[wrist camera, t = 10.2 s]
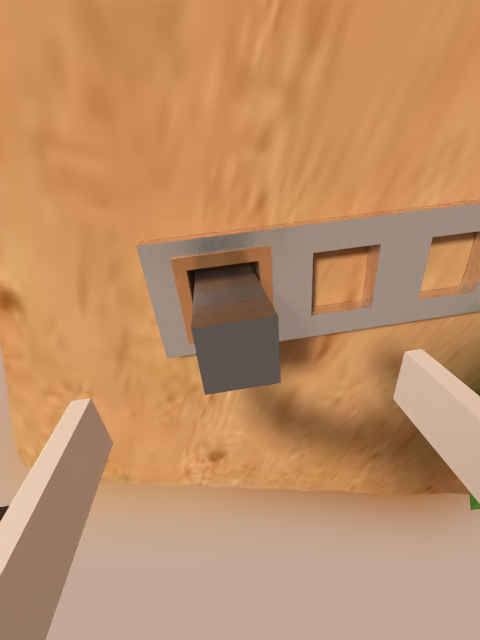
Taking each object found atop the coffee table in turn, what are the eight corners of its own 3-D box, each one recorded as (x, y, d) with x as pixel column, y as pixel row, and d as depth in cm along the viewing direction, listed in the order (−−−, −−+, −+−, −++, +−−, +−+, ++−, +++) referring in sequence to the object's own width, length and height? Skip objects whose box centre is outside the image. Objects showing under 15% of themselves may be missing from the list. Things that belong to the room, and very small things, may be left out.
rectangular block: (195, 269, 22) (191, 328, 14) (249, 262, 23) (278, 315, 14) (204, 317, 25) (205, 394, 16) (252, 310, 25) (280, 382, 16)
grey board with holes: (140, 241, 21) (135, 246, 19) (522, 194, 23) (546, 195, 21) (169, 348, 26) (166, 359, 24) (483, 301, 28) (501, 309, 26)
